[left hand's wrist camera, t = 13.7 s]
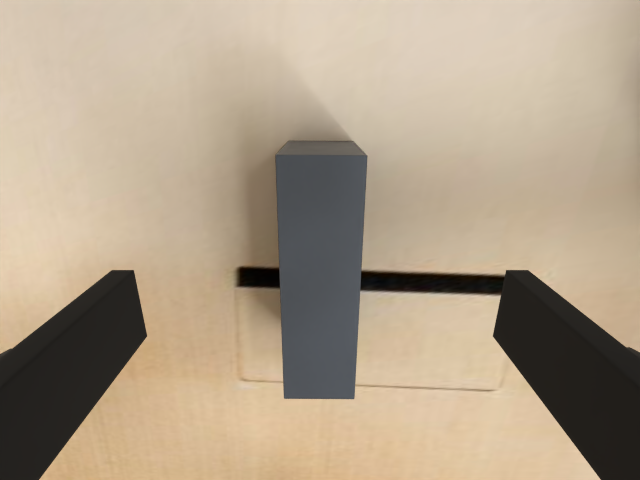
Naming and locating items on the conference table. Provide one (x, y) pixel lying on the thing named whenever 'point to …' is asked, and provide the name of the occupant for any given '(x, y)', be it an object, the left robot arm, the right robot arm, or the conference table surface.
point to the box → (320, 265)
